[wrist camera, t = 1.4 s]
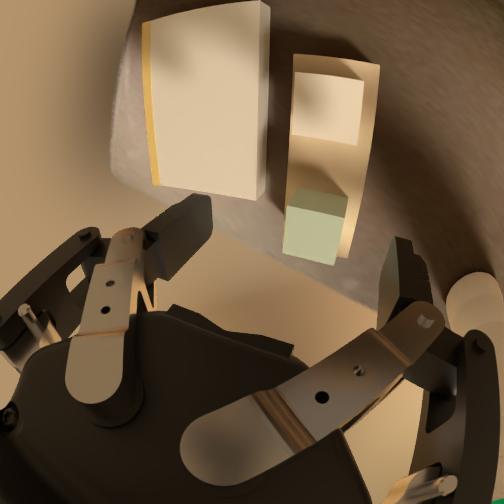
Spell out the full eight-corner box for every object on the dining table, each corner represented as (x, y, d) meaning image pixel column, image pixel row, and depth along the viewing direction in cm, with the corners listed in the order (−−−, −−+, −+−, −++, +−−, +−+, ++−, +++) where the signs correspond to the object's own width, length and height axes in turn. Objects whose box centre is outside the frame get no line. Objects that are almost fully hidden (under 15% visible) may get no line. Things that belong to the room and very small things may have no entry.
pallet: (304, 58, 18) (293, 53, 15) (377, 69, 16) (379, 65, 13) (293, 222, 28) (281, 242, 25) (350, 235, 26) (347, 258, 23)
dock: (158, 25, 19) (141, 23, 17) (270, 7, 16) (259, 0, 14) (166, 176, 30) (152, 184, 28) (265, 190, 27) (255, 201, 25)
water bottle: (504, 295, 21) (525, 513, 2) (459, 324, 25) (450, 533, 7) (484, 257, 20) (519, 520, 1) (434, 292, 25) (419, 540, 6)
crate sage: (298, 187, 21) (286, 205, 18) (348, 197, 20) (344, 218, 17) (294, 230, 23) (282, 253, 21) (339, 241, 22) (333, 265, 20)
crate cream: (306, 74, 16) (294, 71, 13) (364, 82, 15) (364, 81, 12) (303, 126, 18) (291, 134, 16) (358, 136, 17) (357, 145, 14)
